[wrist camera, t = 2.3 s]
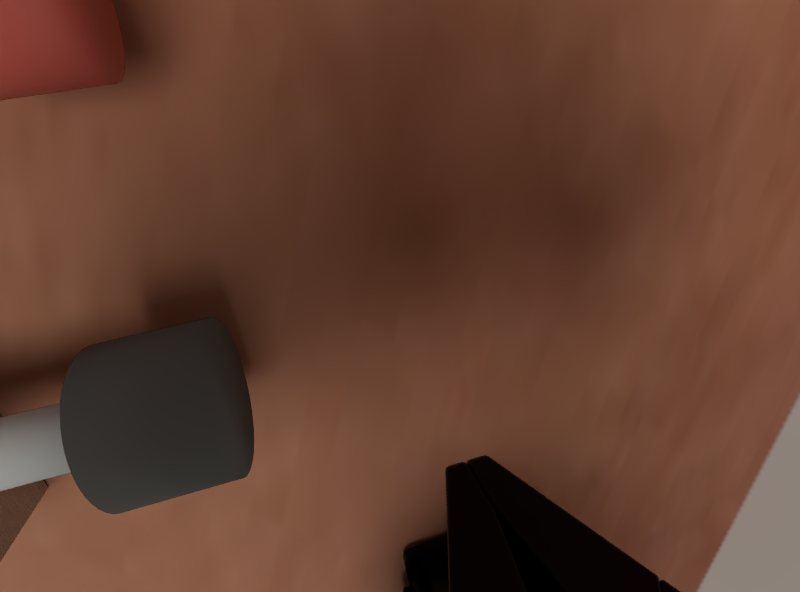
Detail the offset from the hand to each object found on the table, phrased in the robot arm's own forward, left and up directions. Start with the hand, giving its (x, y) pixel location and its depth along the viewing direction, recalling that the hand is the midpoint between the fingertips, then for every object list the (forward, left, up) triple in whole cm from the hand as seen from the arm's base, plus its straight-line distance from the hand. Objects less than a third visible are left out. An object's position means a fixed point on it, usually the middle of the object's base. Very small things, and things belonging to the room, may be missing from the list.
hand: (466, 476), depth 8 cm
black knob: (+11, 0, -7) cm, 13 cm away
